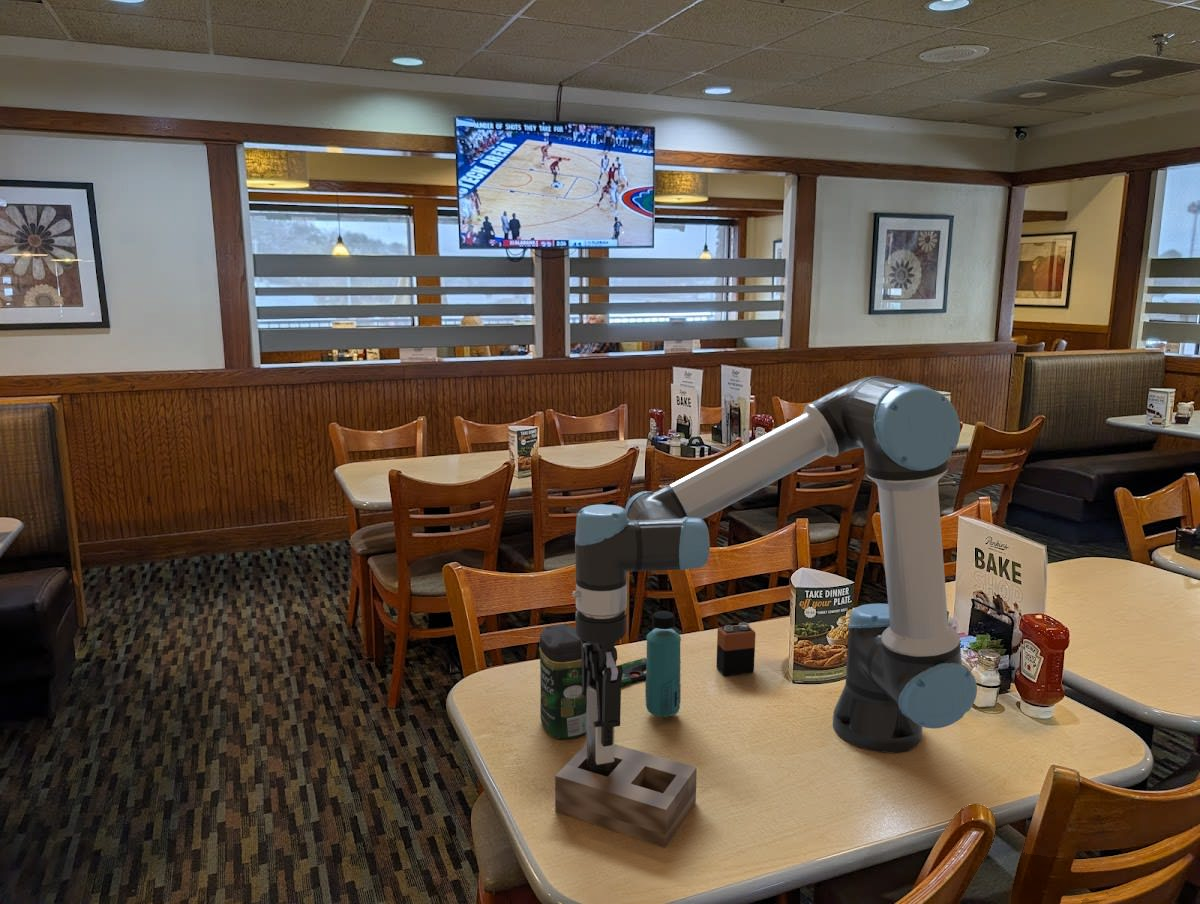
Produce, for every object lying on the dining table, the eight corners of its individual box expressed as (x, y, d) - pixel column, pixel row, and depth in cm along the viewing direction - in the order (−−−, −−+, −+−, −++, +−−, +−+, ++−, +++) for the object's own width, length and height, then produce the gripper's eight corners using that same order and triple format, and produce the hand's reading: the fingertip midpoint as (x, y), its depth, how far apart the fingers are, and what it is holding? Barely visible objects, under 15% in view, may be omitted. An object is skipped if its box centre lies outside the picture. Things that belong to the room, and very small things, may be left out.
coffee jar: (534, 718, 155) (533, 623, 151) (575, 710, 158) (575, 617, 154) (552, 745, 146) (551, 644, 142) (594, 736, 149) (594, 637, 145)
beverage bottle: (678, 726, 152) (680, 622, 148) (641, 722, 153) (643, 619, 149) (682, 708, 158) (684, 608, 154) (647, 705, 160) (648, 605, 156)
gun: (608, 693, 162) (582, 673, 170) (608, 700, 162) (582, 679, 171) (676, 673, 171) (647, 654, 179) (676, 679, 171) (647, 661, 179)
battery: (754, 673, 173) (756, 627, 171) (723, 677, 171) (725, 631, 169) (745, 664, 177) (747, 619, 175) (715, 667, 175) (717, 622, 173)
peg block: (695, 802, 130) (696, 767, 129) (665, 847, 119) (666, 809, 118) (592, 771, 138) (592, 738, 137) (555, 811, 128) (555, 775, 126)
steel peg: (617, 769, 131) (617, 686, 128) (605, 783, 127) (605, 697, 124) (594, 763, 132) (594, 680, 130) (582, 776, 129) (582, 691, 126)
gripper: (561, 592, 131) (561, 729, 136) (593, 635, 116) (593, 789, 120) (607, 587, 134) (606, 722, 138) (645, 628, 118) (642, 780, 122)
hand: (600, 753), depth 129 cm, fingers closed on steel peg, 4 cm apart
